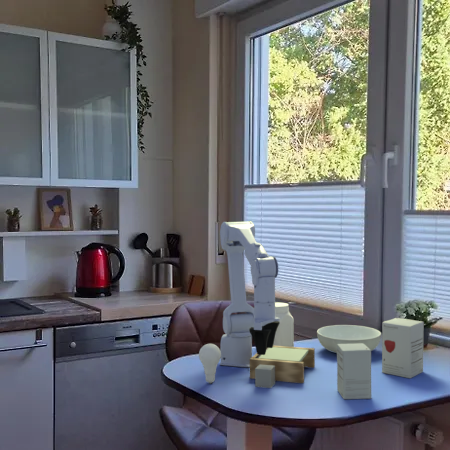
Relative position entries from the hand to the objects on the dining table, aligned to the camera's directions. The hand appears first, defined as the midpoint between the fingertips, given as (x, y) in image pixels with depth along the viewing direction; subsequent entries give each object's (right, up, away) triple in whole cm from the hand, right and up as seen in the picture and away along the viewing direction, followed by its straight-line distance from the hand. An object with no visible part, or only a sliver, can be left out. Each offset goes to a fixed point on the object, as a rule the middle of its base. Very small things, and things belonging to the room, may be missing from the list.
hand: (265, 350), depth 160 cm
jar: (+7, -8, +40) cm, 42 cm away
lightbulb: (-15, -10, +3) cm, 18 cm away
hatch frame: (+6, -9, +12) cm, 16 cm away
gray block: (0, -10, 0) cm, 10 cm away
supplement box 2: (+41, -9, +10) cm, 43 cm away
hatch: (+6, -4, +12) cm, 14 cm away
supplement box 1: (+22, -10, -9) cm, 26 cm away
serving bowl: (+30, -8, +34) cm, 46 cm away
